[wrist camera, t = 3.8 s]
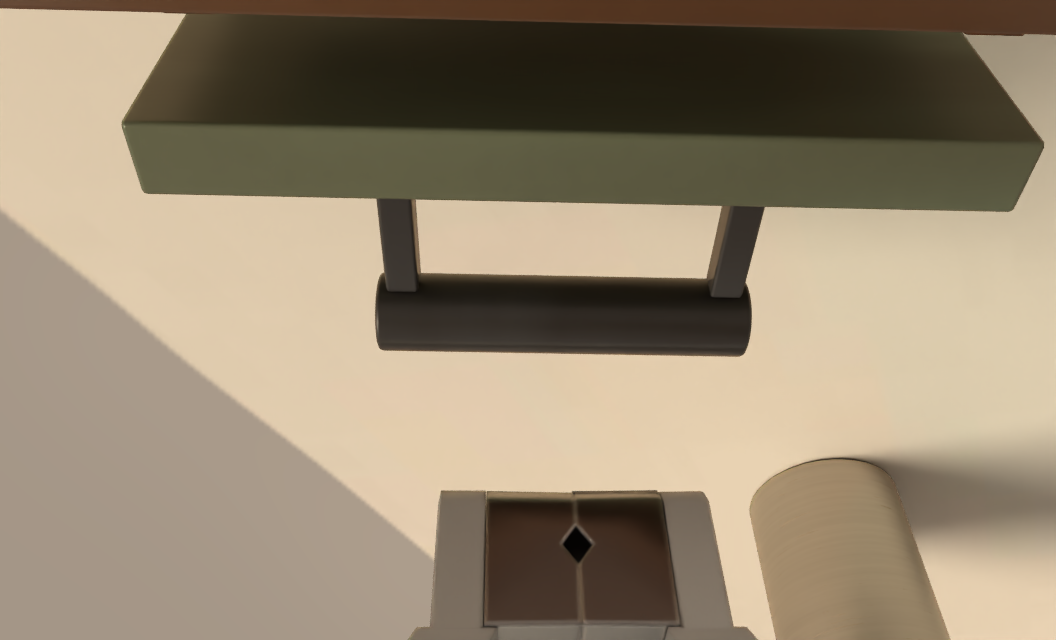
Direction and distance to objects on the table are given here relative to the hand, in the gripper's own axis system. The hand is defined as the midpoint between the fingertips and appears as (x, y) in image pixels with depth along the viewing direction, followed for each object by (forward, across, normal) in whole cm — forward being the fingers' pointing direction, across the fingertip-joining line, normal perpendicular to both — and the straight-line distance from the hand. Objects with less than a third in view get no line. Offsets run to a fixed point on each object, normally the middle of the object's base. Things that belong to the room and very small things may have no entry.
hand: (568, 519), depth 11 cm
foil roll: (+12, -10, +17) cm, 24 cm away
